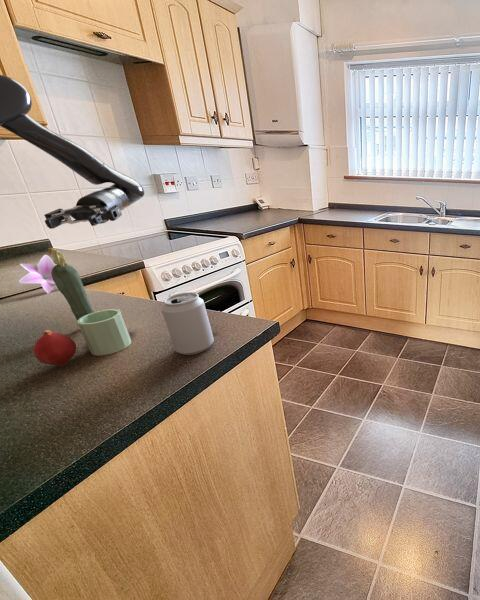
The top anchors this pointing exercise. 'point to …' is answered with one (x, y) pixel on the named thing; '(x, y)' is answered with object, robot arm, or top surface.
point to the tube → (104, 332)
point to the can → (187, 323)
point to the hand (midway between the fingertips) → (70, 223)
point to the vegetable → (70, 285)
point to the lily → (40, 273)
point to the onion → (54, 348)
